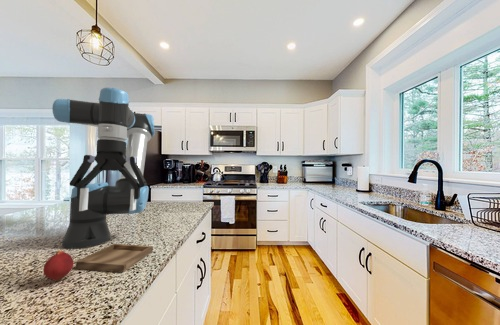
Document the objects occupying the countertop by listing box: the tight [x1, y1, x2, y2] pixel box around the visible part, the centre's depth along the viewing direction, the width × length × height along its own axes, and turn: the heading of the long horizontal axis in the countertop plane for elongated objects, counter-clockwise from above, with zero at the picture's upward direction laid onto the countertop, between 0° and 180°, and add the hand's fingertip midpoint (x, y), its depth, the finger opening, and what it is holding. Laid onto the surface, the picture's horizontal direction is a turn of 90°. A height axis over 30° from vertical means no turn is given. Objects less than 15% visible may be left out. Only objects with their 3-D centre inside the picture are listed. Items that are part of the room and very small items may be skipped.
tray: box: [75, 243, 154, 273], centre depth 68 cm, size 15×15×2 cm
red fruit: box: [42, 249, 74, 282], centre depth 55 cm, size 6×6×8 cm
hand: (108, 210), depth 63 cm, fingers open, 13 cm apart
